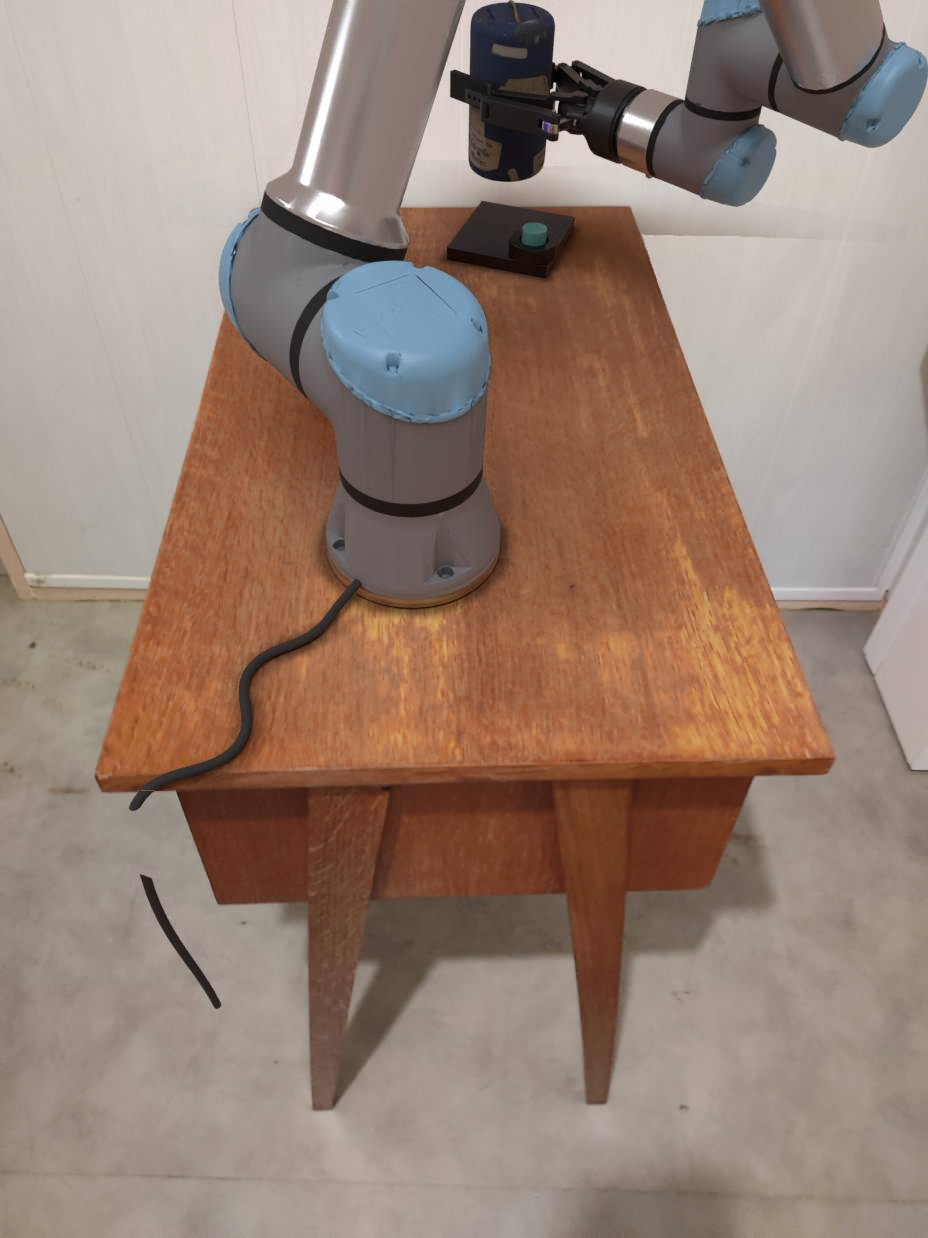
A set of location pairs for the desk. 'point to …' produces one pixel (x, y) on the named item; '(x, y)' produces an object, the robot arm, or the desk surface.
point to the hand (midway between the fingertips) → (482, 72)
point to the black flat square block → (509, 239)
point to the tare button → (534, 234)
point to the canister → (509, 85)
